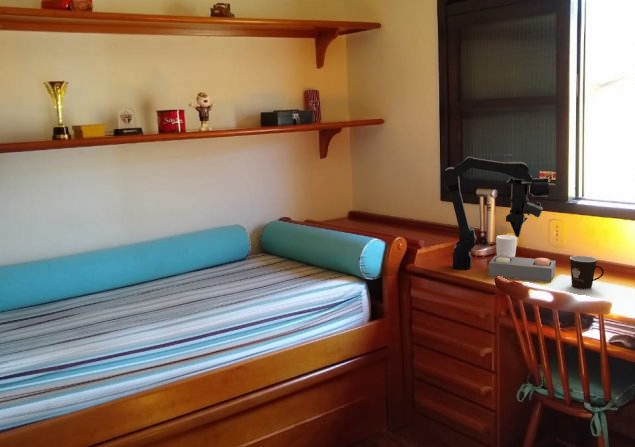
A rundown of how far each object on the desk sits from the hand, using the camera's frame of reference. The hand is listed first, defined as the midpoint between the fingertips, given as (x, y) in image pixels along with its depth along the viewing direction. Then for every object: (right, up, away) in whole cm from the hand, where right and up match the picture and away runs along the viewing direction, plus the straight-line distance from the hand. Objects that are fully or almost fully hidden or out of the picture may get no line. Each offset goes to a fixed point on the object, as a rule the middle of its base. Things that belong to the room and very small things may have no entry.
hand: (517, 236), depth 242 cm
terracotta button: (+7, -12, -7) cm, 16 cm away
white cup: (0, -10, +16) cm, 19 cm away
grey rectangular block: (0, -14, -4) cm, 15 cm away
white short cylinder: (-6, -13, -1) cm, 14 cm away
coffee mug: (+16, -17, -21) cm, 32 cm away
